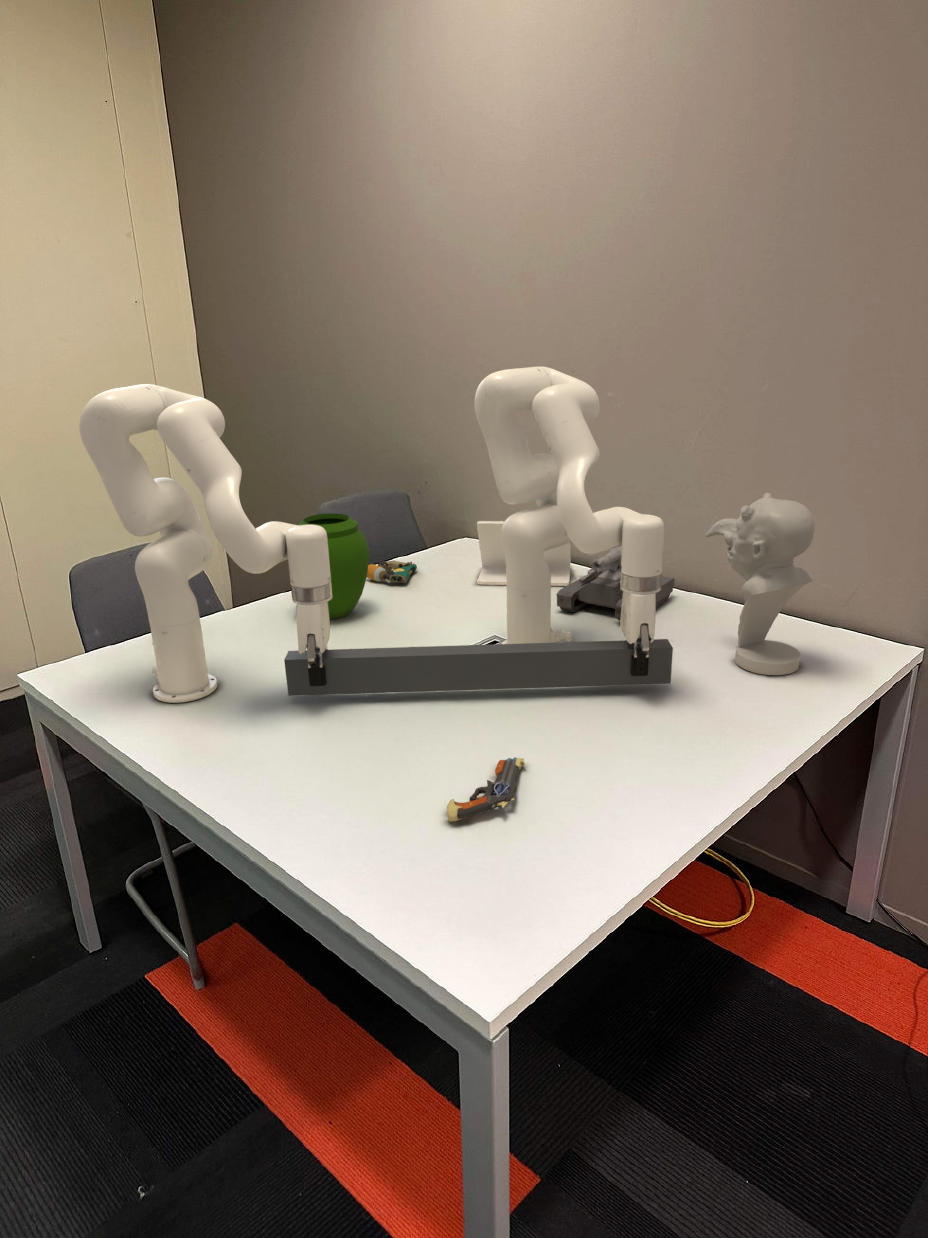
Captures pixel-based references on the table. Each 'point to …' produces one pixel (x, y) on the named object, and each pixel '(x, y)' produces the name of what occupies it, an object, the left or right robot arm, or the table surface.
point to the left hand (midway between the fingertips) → (320, 678)
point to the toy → (604, 586)
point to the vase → (343, 560)
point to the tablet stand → (496, 562)
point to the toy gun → (490, 792)
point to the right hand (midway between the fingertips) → (636, 668)
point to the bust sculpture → (766, 576)
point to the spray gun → (391, 571)
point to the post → (478, 667)
